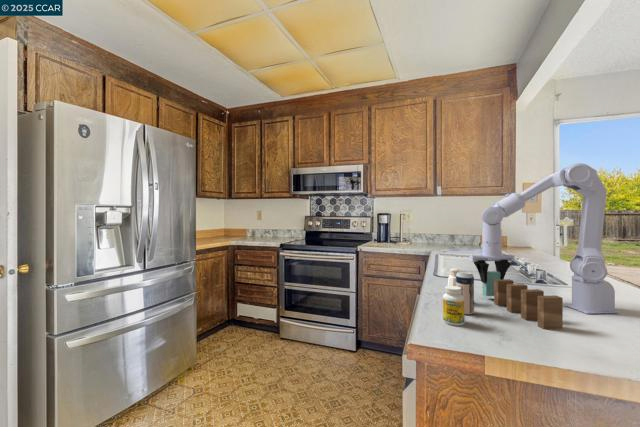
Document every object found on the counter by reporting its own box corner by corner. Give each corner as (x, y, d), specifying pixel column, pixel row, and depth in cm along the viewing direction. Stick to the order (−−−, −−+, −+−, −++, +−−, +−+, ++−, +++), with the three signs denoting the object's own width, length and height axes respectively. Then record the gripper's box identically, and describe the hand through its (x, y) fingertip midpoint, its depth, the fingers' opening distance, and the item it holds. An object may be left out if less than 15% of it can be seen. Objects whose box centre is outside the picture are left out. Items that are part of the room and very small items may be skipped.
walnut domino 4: (537, 326, 77) (537, 295, 77) (556, 325, 77) (555, 295, 77) (543, 329, 75) (543, 298, 75) (562, 328, 75) (562, 297, 75)
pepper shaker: (461, 305, 94) (461, 271, 94) (444, 302, 97) (443, 269, 97) (465, 301, 98) (465, 268, 98) (448, 298, 101) (448, 266, 101)
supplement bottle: (462, 319, 82) (462, 285, 82) (466, 327, 77) (465, 290, 77) (442, 317, 84) (441, 284, 83) (443, 325, 78) (443, 289, 78)
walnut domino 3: (521, 317, 83) (520, 289, 83) (538, 317, 83) (538, 289, 83) (526, 320, 81) (526, 291, 81) (543, 319, 81) (543, 291, 81)
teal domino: (500, 295, 99) (500, 272, 99) (486, 296, 99) (486, 272, 99) (496, 294, 101) (496, 271, 101) (482, 294, 101) (482, 271, 101)
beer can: (476, 316, 85) (476, 274, 85) (458, 315, 86) (458, 274, 85) (471, 310, 89) (471, 271, 89) (454, 309, 90) (454, 270, 90)
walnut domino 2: (506, 310, 89) (506, 284, 89) (522, 310, 89) (522, 283, 89) (511, 312, 87) (511, 286, 87) (527, 312, 87) (527, 285, 87)
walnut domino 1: (494, 304, 95) (494, 279, 95) (509, 303, 95) (509, 279, 95) (498, 306, 93) (498, 281, 93) (513, 305, 93) (513, 280, 93)
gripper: (504, 240, 104) (504, 279, 104) (464, 241, 104) (464, 279, 104) (518, 243, 97) (519, 284, 97) (476, 243, 97) (476, 284, 97)
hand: (491, 282), depth 100 cm, fingers closed on teal domino, 5 cm apart
